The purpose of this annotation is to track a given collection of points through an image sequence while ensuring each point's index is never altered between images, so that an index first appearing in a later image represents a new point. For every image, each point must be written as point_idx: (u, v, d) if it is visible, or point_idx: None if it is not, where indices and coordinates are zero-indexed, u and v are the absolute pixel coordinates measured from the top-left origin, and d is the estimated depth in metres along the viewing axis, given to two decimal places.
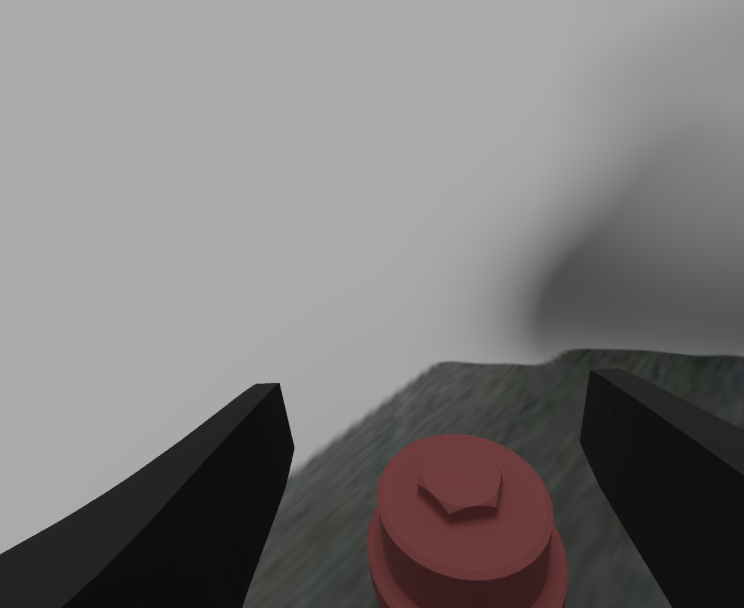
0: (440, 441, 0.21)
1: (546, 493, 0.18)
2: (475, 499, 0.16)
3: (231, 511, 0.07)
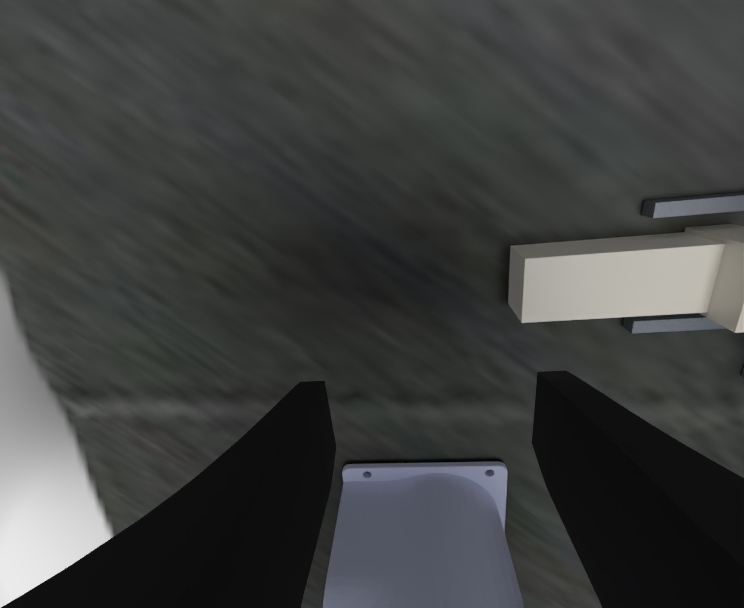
0: None
1: None
2: None
3: (291, 511, 0.06)
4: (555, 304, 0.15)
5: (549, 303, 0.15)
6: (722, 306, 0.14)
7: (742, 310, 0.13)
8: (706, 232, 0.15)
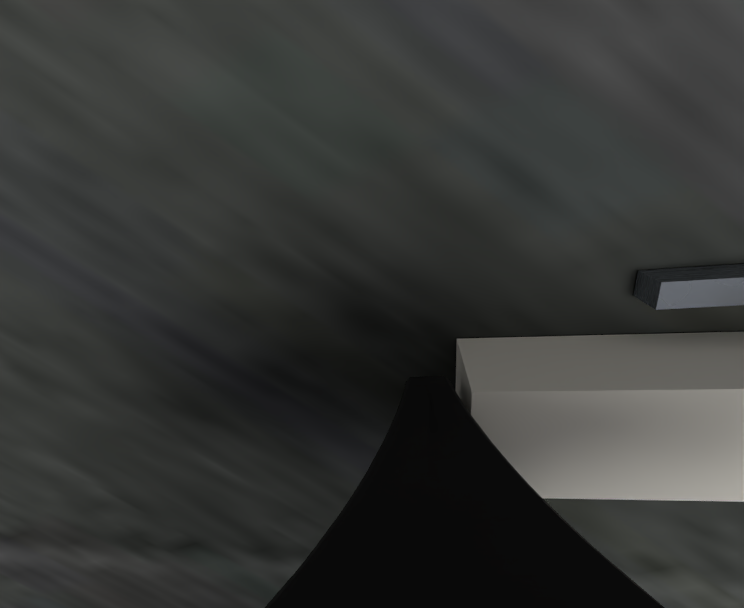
0: None
1: None
2: None
3: None
4: (532, 472, 0.08)
5: (520, 469, 0.08)
6: None
7: None
8: None
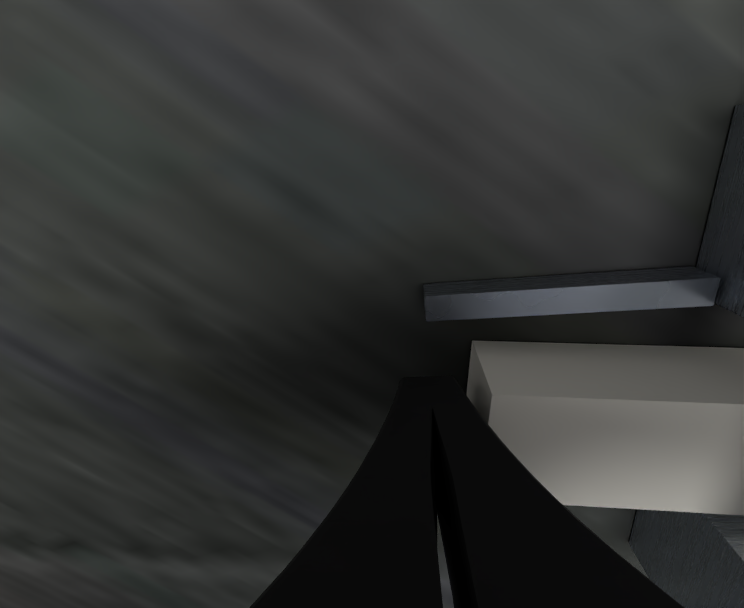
0: None
1: None
2: None
3: (433, 510, 0.06)
4: (544, 477, 0.08)
5: (533, 474, 0.08)
6: None
7: None
8: None
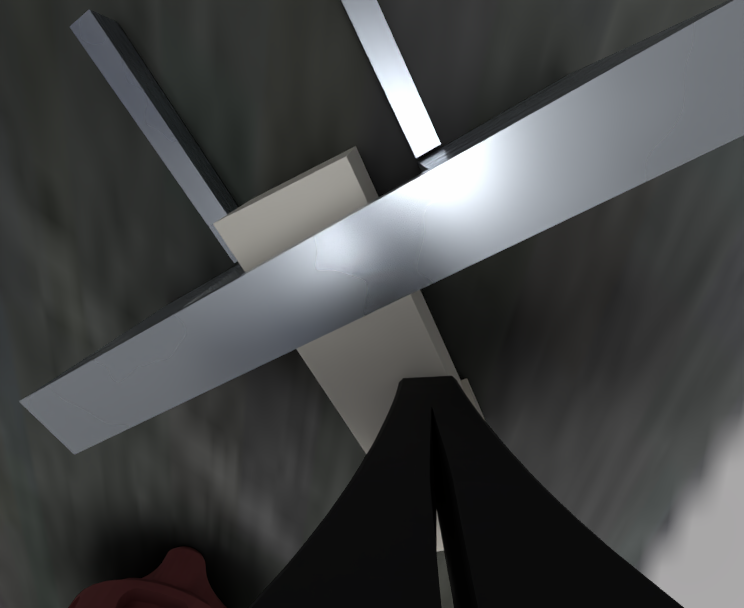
0: None
1: None
2: None
3: (433, 511, 0.06)
4: None
5: None
6: None
7: None
8: (475, 405, 0.10)
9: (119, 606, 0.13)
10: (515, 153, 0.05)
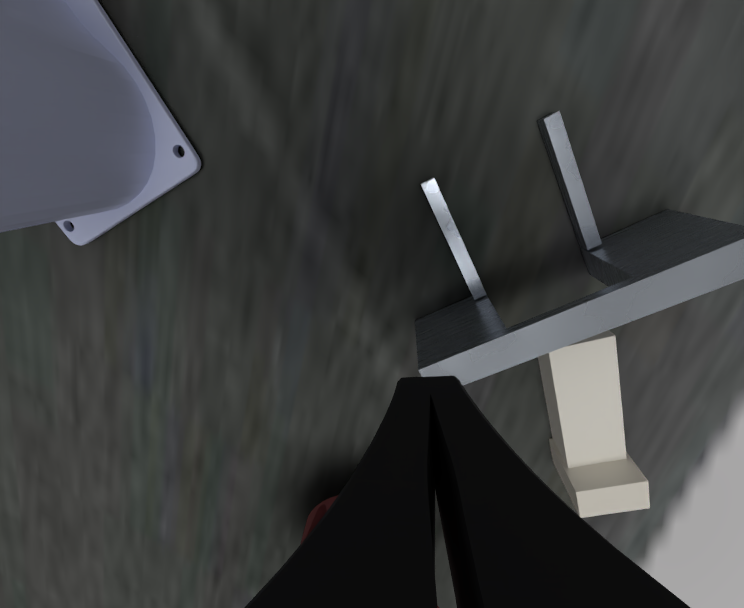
0: None
1: None
2: None
3: (431, 510, 0.06)
4: (569, 370, 0.17)
5: (570, 366, 0.17)
6: (584, 476, 0.18)
7: (595, 489, 0.18)
8: None
9: None
10: (674, 275, 0.12)
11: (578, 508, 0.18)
